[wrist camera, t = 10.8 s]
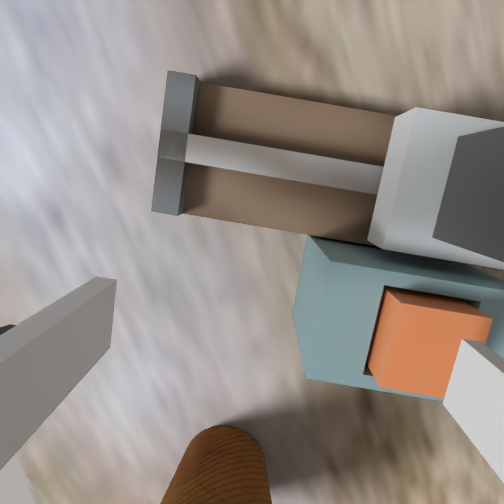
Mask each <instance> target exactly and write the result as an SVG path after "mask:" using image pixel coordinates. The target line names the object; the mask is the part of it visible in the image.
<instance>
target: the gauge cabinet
mask: <svg viewBox="0 0 504 504" xmlns="http://www.w3.org/2000/svg"><path fill="white" fill-rule="evenodd" d="M384 285H387V286H393V287H398V288H404V289H410V290H416V291H422V292H428V293H434V294H440V295H446V296H452V297H457V298H460V299H461V300H463V301H465V302H466V303H468V304H470V305H471V306H473V307H475V308H476V309H478V310H480V311H481V312H483V313H485V314H486V315H488V316H490V317H491V318H493V320H492V324H491V327H490V330H489V334H488V337H487V340H486V344H485V345H487V346H488V347H489V348H490V349H492V350H493V351H494V352H496V353H497V354H498V355H500V356H501V357H502V358H503V359H504V281H503V280H501V279H498V278H496V277H494V276H491V275H489V274H487V273H484V272H482V271H479V270H477V269H475V268H472V267H470V266H467V265H465V264H463V263H460V262H455V261H449V260H443V259H437V258H431V257H426V256H420V255H414V254H408V253H402V252H396V251H390V250H384V249H382V248H380V247H378V246H372V245H366V244H360V243H354V242H349V241H343V240H337V239H331V238H325V237H319V236H313V235H308V237H307V242H306V247H305V252H304V257H303V262H302V267H301V272H300V277H299V283H298V288H297V293H296V298H295V303H294V308H293V313H292V317H293V322H294V326H295V331H296V336H297V340H298V345H299V350H300V354H301V359H302V364H303V368H304V373H305V378H306V379H312V380H318V381H324V382H330V383H336V384H342V385H348V386H354V387H360V388H366V389H371V390H377V391H383V392H389V393H395V394H401V395H407V396H413V397H419V398H425V399H431V400H437V401H444V398H440V397H434V396H428V395H422V394H416V393H410V392H404V391H399V390H393V389H387V388H381V387H379V385H378V383H377V381H376V380H375V378H374V376H373V374H372V372H371V371H370V369H369V367H368V365H367V364H366V359H367V355H368V351H369V346H370V342H371V338H372V334H373V330H374V326H375V321H376V317H377V313H378V309H379V305H380V301H381V296H382V292H383V288H384Z"/></svg>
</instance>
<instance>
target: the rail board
mask: <svg viewBox="0 0 504 504" xmlns="http://www.w3.org/2000/svg"><path fill="white" fill-rule="evenodd" d="M395 117H396V116H395V115H390V114H384V113H378V112H372V111H366V110H360V109H355V108H349V107H343V106H337V105H331V104H325V103H319V102H314V101H308V100H302V99H296V98H290V97H284V96H278V95H273V94H267V93H261V92H255V91H249V90H243V89H237V88H232V87H226V86H220V85H214V84H208V83H202V82H200V81H199V79H198V78H197V76H196V75H193V74H187V73H181V72H175V71H169V70H168V73H167V81H166V90H165V98H164V107H163V115H162V124H161V132H160V141H159V149H158V158H157V166H156V175H155V183H154V192H153V201H152V209H151V211H153V212H159V213H165V214H171V215H176V216H178V215H180V214H183V213H184V214H190V215H195V216H201V217H207V218H213V219H219V220H225V221H231V222H237V223H243V224H248V225H254V226H260V227H266V228H272V229H278V230H284V231H290V232H296V233H301V234H307V235H313V236H319V237H325V238H331V239H337V240H343V241H349V242H354V243H360V244H366V245H372V246H376V245H375V244H373V243H371V242H369V241H368V240H367V239H368V234H369V230H370V226H371V221H372V217H373V212H374V208H375V204H376V199H377V195H378V190H379V186H380V181H381V177H382V173H383V168H384V164H385V159H386V155H387V151H388V146H389V142H390V137H391V133H392V128H393V124H394V120H395ZM482 267H484V266H482ZM485 268H489V269H495V270H500V271H504V270H502V269H496V268H490V267H485Z"/></svg>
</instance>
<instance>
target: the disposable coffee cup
mask: <svg viewBox="0 0 504 504" xmlns="http://www.w3.org/2000/svg"><path fill="white" fill-rule="evenodd" d="M269 490H270V489H269V485H268V479H267V473H266V467H265V461H264V455H263V452H262V449H261V448H260V446H259V444H258V443H257V442H256V440H255V439H254V438H253V437H251V436H250V435H249V434H248V433H246V432H244V431H242V430H240V429H237V428H233V427H228V426H218V427H212V428H209V429H207V430H205V431H202V432H201V433H199V434H198V435H196V436H195V437H194V438H193V439H192V440H191V442H190V444H189V445H188V447H187V449H186V451H185V454H184V456H183V458H182V460H181V462H180V464H179V466H178V468H177V470H176V472H175V475H174V477H173V479H172V481H171V483H170V485H169V487H168V489H167V491H166V493H165V495H164V497H163V500H162V502H161V504H272V501H271V498H270V497H271V495H270V491H269Z"/></svg>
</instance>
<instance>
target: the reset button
mask: <svg viewBox="0 0 504 504" xmlns="http://www.w3.org/2000/svg"><path fill="white" fill-rule="evenodd" d="M492 320H493V318H491V317H490V316H488V315H486V314H485V313H483V312H481V311H480V310H478V309H476V308H475V307H473V306H471V305H470V304H468V303H466V302H465V301H463V300H461V299H460V298H457V297H452V296H446V295H440V294H434V293H428V292H422V291H416V290H410V289H404V288H398V287H393V286H387V285H384V288H383V292H382V296H381V301H380V305H379V309H378V313H377V317H376V321H375V326H374V330H373V334H372V338H371V342H370V346H369V351H368V355H367V359H366V364H367V365H368V367H369V369H370V371H371V372H372V374H373V376H374V378H375V380H376V381H377V383H378V385H379V387H381V388H387V389H393V390H399V391H404V392H410V393H416V394H422V395H428V396H434V397H440V398H444V397H445V394H446V391H447V387H448V384H449V381H450V377H451V374H452V371H453V367H454V364H455V361H456V357H457V354H458V351H459V347H460V344H461V340H462V339H467V340H473V341H479V342H483V343H484V344H486V340H487V337H488V334H489V330H490V327H491V324H492Z"/></svg>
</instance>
